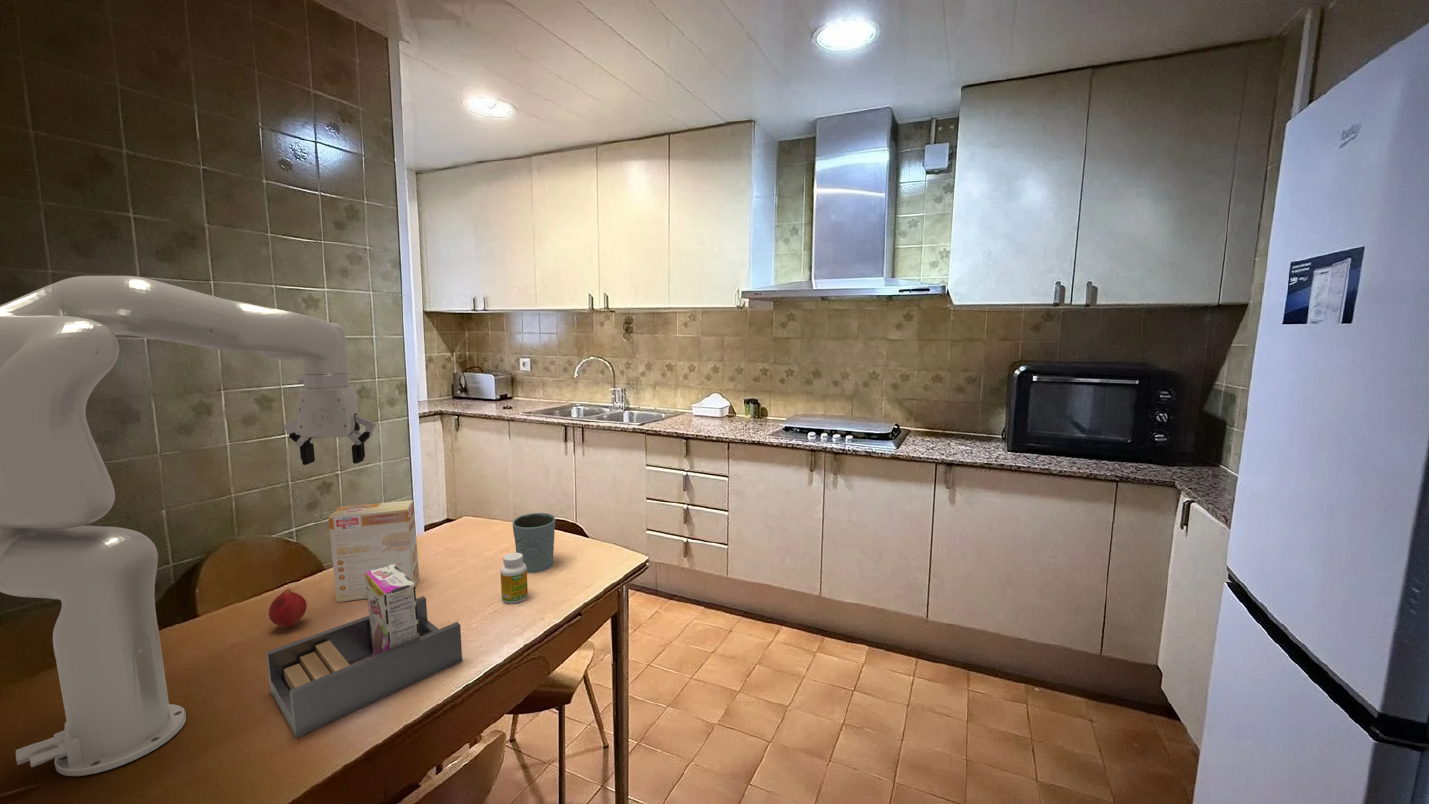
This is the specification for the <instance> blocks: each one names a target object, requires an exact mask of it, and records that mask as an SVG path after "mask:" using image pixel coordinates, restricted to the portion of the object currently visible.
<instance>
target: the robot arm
mask: <svg viewBox="0 0 1429 804" xmlns="http://www.w3.org/2000/svg"><path fill="white" fill-rule="evenodd" d="M117 336H133V337H141V338H142V337H143V338H148V339H152V340H160V341H163V342H164V341H166V342H171V343H178V344H184V345H189V346H195V347H199V348H204V349H210V350H211V349H212V350H220V351H221V350H222V351H231V352H232V351H233V352H258V354H260V355H262V356H263V357H266V358H269V359H272V360H276V361H277V360H279V361H302V370H303V371H302V373H303V374H302V376H298V377H297V382H298V384H303V387H304V388H303V389H300V390H299V394H298V400H297V401H298V402H297V418H295V419H293V420H291V421H290V422H287V423H285V424H283V429H284V430H285V431H286V433H287V434H288V438H290V439H291V440H292V441H293V442H295V444H296V446H297V447H299V452H300V453H299V454H300V455H299V456H300V460H301V461H302V463H301V464H302V465H303V466H307V465H309V464H312V463H314V462H315V461H316V458H315V447H314V446H315V445H314V444H313V442H312V441H313V440H314V439H324V438H325V439H327V438H329V439H331V438H335V439H336V438H345V437H347V438H348V439H349V440H350V441H351V442H352V443H353V444H352V445H351V456H352V463H353V464H354V465H356V464H360V463H361V462H364V459H365V457H366V451H365V443H366V442H367V441H368V440H369V439H370V437H372V435H373V433H374V431H375V429H376V427H377V422H375V421H373V420H371V419H368V418H366V417H364V416H361V415H360V412H359V407H358V403H357V402H358V401H357V398H356V395H355V391H354V389H353V388H352V387H350V381H349V372H348V371H349V369H348V357H347V344H346V343H347V341H346V332H345V328H344V326H342V324H340V323H336V322H328V321H327V320H323V319H320V318H317V317H313V316H310V315H306V314H302V313H299V312H293V311H290V310H283V309H280V308H279V309H278V308H273V307H272V308H271V307H267V306H263V305H257V304H252V303H248V302H244V301H236V300H231V299H226V298H223V297H218V296H214V295H211V294H206V293H203V292H199V291H195V290H192V289H188V288H184V287H180V286H178V285H173V284H169V283H166V282H163V281H159V280H155V279H151V278H146V277H142V276H135V275H79V276H78V275H77V276H74V277H73V276H72V277H68V278H65V279H62V280H58V281H57V282H54V283H51V284H48V285H46V286H43V287H41V288H38V289H36V290H33V291H31V292H29V293H27V294H25V295H22V296H20V297H17V298H15V299H13V300H11V301H8V302H6V303H3V304H0V593H2V594H6V595H9V596H15V597H22V598H35V599H36V598H37V599H51V600H58V601H60V602H61V609H60V612H59V615H58V617H57V619H56V622H55V624H54V627H53V631H52V645H53V653H54V657H55V662H56V668H57V673H58V674H57V675H58V679H59V686H60V690H61V697H62V701H63V703H62V704H63V707H64V714H65V720H66V721H65V722H64V730H62V731H59V732H57V733H54V734H53V737H50V738H48V739H45V740H42V741H39V742H34V743H31V744H30V745H25V746H23V747H21V748H18V749H15V760H16V764H17V766H19V765H23V764H25V763H27V762H30V763H29V764H30V767H31V768H34V767H37V766H39V765H42V764H45V763H47V762H49V761H51V760H54V767H55V770H56V772H57V773H58V774H60V775H63V776H67V777H81V776H88V775H94V774H99V773H102V772H106V771H109V770H112V769H116V768H118V767H121V766H123V765H126V764H128V763H131V762H134V761H135V760H137V759H141V758H142V757H144V756H146V755H148V754H149V753H152V752H153V751H155V750H156V749H158V748H160V747H161V746H162V745H165V744H166V743H167V742H168V741H170V740H171V739H172V738H173V737H174V736H176V734H178V733H179V732H180V731H181V729H182V728H183V727H184V725H185V723H186V721H187V714H186V710H185V709H184V707H182V706H181V705H177V704H172V703H170V702H169V695H168V689H167V688H168V687H167V679H166V673H165V667H164V660H163V659H164V658H163V652H162V647H161V644H162V643H161V639H160V638H161V637H160V631H159V625H158V620H157V612H156V600H155V585H156V579H157V578H156V577H157V571H158V564H159V553H158V549H157V546H156V545H155V543H154V542H153V541H152V539H150V538H149V537H148V536H147V535H145V534H143V533H142V532H140V531H138V530H137V531H136V530H134V529H129V528H125V527H118V526H100V525H99V526H98V525H90V524H92V523H94V522H97V521H98V520H100V519H102V518H103V517H105V516H106V515H107V514H108V513H109V511H110V510H111V509H112V507H113V505H114V503H115V500H116V491H115V488H114V484H113V481H112V478H111V476H110V474H109V471H108V469H107V466H106V464H105V463H104V460H103V458H102V456H101V454H100V453H101V452H100V451H99V449H98V446H97V444H96V442H95V440H94V438H93V436H92V433H91V430H90V427H89V424H88V420H87V416H86V411H87V410H86V409H87V403H88V400H89V398H90V395H91V394H92V392H93V390H94V389H95V388H96V386H97V385H98V384H99V383H100V381H101V380H102V379H103V378H104V377H105V376H106V375H107V374H108V373H109V372H110V371H111V370H112V368H113V367H114V366H115V365H116V362H117V361H118V358H119V354H120V345H119V341H118V338H117ZM361 426H363V427H365V430H364V431H363V433H361V432H360V430H361Z"/></svg>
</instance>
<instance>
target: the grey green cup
mask: <svg viewBox="0 0 1429 804" xmlns="http://www.w3.org/2000/svg"><path fill="white" fill-rule="evenodd" d="M555 529H556V517H555V516H554V515H553V514H550V513H547V512H546V513H544V512H533V513H527V514H522V515H520V516H518V517H516V518H514V519H513V520H512V530H513V531H512V532H513V536H514V542H515V553H521V554H522V555H523V563H525V564H526V566H527V574H535V573H536V574H537V573H541V572H544V571H547V570H549V569H551V567H553V565H554V553H555V551H554V550H555V545H554V544H555Z"/></svg>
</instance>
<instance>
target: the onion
mask: <svg viewBox="0 0 1429 804" xmlns="http://www.w3.org/2000/svg"><path fill="white" fill-rule="evenodd" d="M307 604H308V603H307V601H306V599H305V598H304V597H303V596H302V595H301V594H299V593H297V592H293V591H292V588H291V587H286V588H284V590H282V592H281V594H279V595H278V596H276V598H274V600H273V601H272V602H271V604H270V606H269V609H268V618H269V620H270V621H271V622H272V623H273V625H276V626H279V627H284V628H292V627H294V626H295V624H296V623H297V622H299V620H301V619H302V618H303V617H304V616H305V613H306V612H307V606H308V605H307Z"/></svg>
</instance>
